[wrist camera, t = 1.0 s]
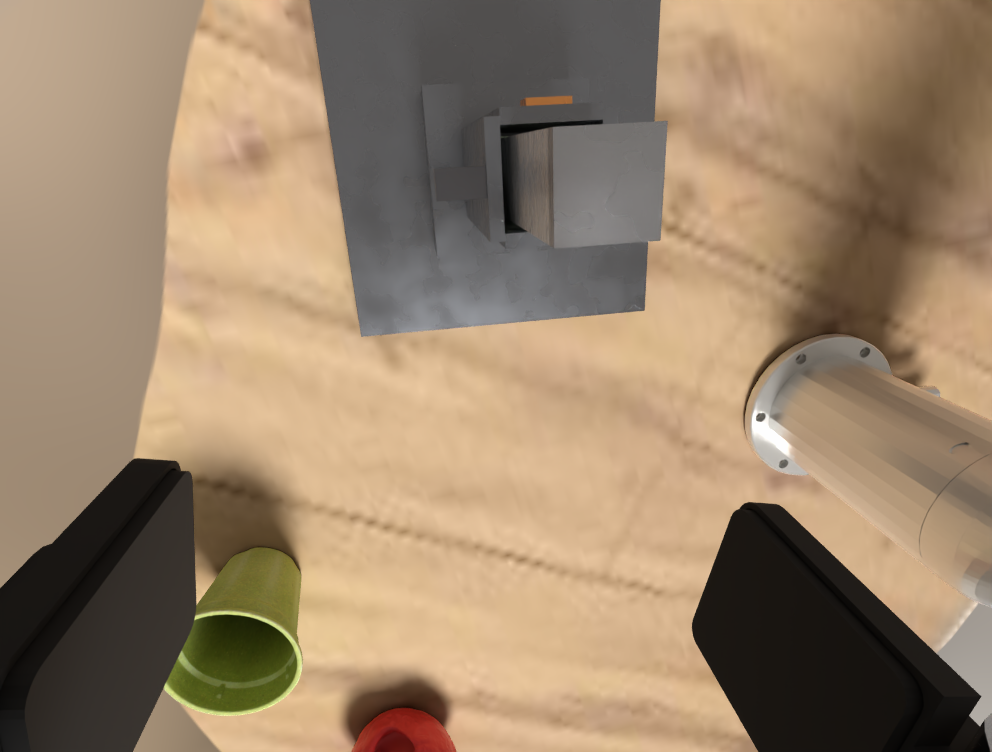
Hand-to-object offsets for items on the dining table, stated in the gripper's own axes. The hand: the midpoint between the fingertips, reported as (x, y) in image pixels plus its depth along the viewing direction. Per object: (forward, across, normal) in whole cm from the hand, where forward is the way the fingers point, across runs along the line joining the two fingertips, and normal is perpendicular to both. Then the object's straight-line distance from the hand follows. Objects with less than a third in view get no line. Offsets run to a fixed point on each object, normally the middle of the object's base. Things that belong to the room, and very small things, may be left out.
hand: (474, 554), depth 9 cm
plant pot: (+30, +11, +28) cm, 42 cm away
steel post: (+25, -3, -6) cm, 26 cm away
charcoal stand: (+30, -3, -6) cm, 31 cm away
